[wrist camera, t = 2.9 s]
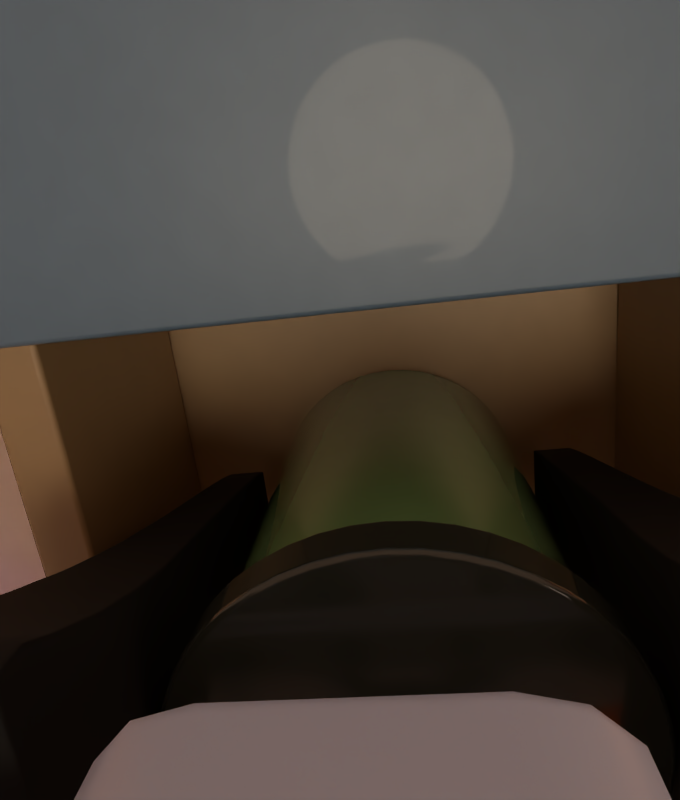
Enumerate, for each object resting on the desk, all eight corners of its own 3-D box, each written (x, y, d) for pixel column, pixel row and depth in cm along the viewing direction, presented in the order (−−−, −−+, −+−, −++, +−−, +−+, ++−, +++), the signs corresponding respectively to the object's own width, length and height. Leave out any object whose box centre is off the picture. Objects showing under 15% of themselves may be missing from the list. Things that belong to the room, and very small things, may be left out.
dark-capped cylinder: (532, 578, 13) (667, 950, 7) (292, 591, 14) (206, 947, 7) (525, 340, 12) (696, 532, 5) (254, 366, 12) (103, 569, 6)
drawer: (653, 771, 16) (788, 1070, 11) (224, 780, 17) (148, 1053, 12) (691, -19, 11) (1009, -234, 5) (61, 78, 12) (-219, -15, 6)
